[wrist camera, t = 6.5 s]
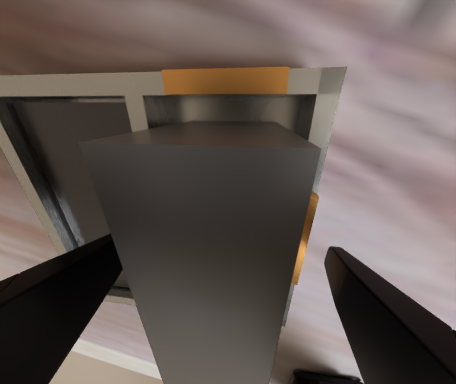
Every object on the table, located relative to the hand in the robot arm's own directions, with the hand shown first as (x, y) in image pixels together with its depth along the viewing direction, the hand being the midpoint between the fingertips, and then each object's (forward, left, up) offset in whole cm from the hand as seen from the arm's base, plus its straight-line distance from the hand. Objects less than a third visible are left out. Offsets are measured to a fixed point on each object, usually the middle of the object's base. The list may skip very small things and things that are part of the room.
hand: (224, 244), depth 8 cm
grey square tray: (0, +3, -3) cm, 5 cm away
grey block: (0, 0, -3) cm, 3 cm away
